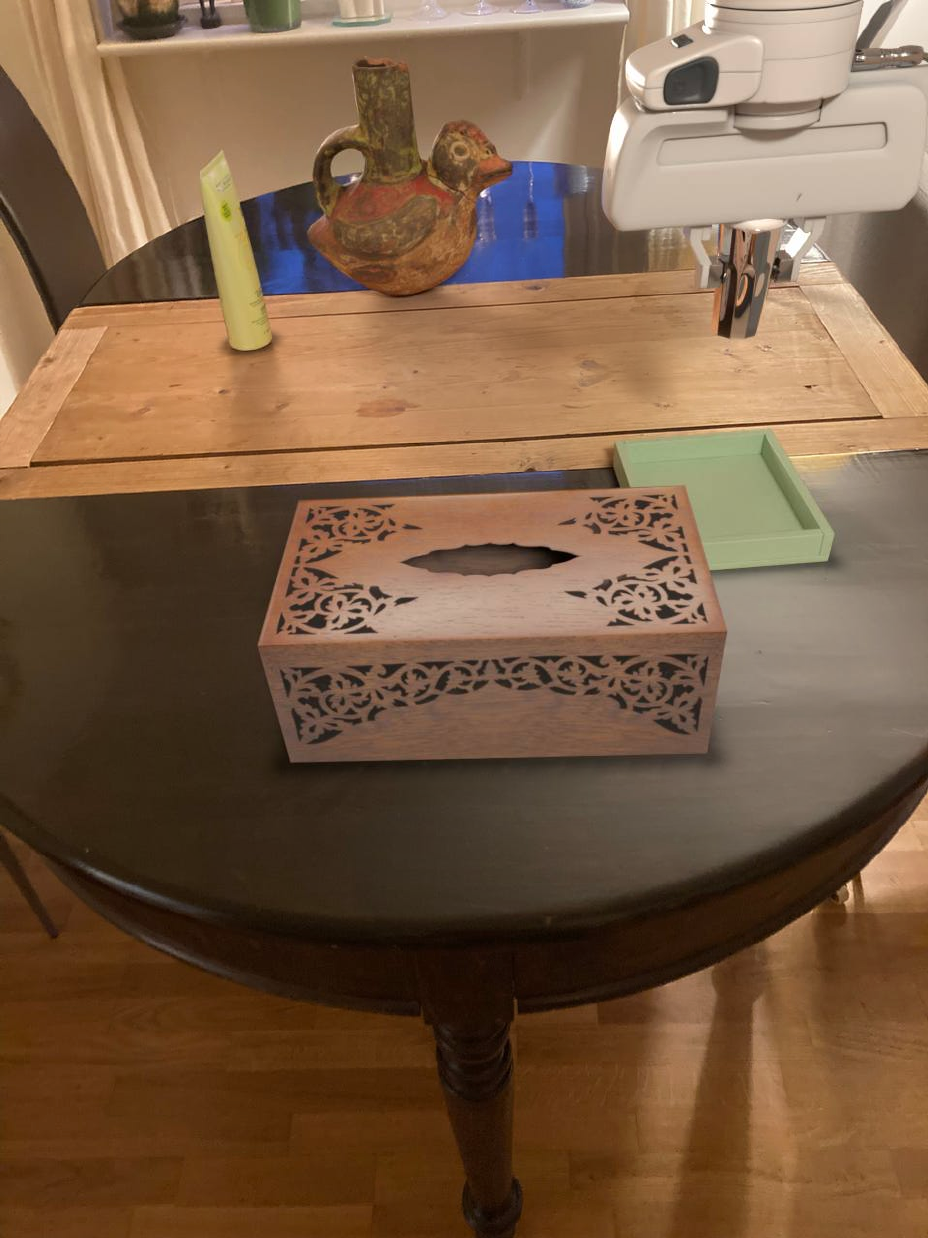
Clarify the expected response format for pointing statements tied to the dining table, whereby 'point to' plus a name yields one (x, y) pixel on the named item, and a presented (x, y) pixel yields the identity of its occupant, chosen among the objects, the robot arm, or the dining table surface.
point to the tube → (233, 259)
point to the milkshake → (745, 274)
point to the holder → (734, 495)
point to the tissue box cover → (494, 627)
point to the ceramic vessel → (400, 189)
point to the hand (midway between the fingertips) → (744, 283)
